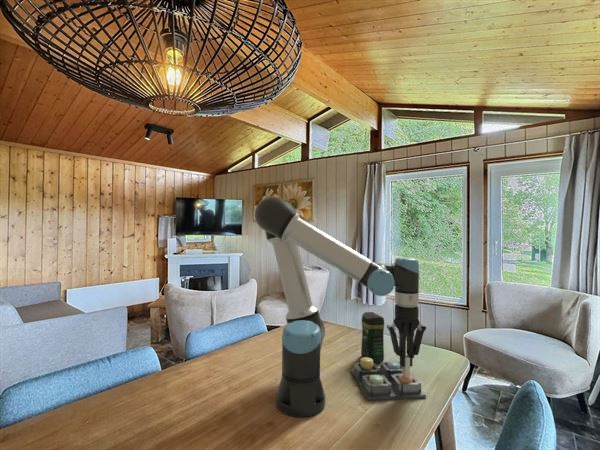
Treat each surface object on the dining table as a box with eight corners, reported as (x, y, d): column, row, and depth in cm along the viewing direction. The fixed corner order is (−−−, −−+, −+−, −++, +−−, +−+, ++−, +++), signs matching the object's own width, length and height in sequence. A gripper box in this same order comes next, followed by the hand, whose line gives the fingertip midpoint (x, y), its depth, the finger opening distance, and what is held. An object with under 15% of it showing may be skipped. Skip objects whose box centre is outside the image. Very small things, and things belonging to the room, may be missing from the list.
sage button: (372, 390, 102) (372, 381, 102) (367, 384, 106) (367, 375, 106) (385, 390, 103) (385, 381, 103) (380, 383, 107) (380, 374, 107)
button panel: (367, 400, 99) (368, 388, 99) (350, 371, 119) (350, 361, 119) (425, 397, 101) (426, 385, 101) (399, 369, 121) (399, 359, 121)
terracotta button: (402, 389, 103) (402, 380, 103) (396, 382, 108) (396, 373, 108) (415, 388, 104) (415, 379, 104) (408, 382, 108) (409, 373, 108)
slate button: (389, 375, 113) (390, 366, 113) (385, 369, 117) (385, 361, 117) (401, 374, 114) (401, 366, 114) (396, 369, 118) (396, 361, 118)
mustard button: (362, 371, 112) (362, 362, 112) (358, 365, 116) (359, 357, 116) (374, 370, 112) (374, 362, 113) (370, 365, 117) (370, 357, 117)
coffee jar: (387, 363, 127) (387, 316, 127) (368, 364, 125) (369, 317, 125) (375, 353, 136) (376, 310, 136) (358, 355, 134) (359, 311, 134)
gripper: (392, 307, 101) (391, 382, 101) (431, 307, 103) (430, 380, 103) (383, 302, 109) (382, 371, 109) (419, 301, 110) (419, 370, 110)
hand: (405, 375), depth 106 cm, fingers closed
